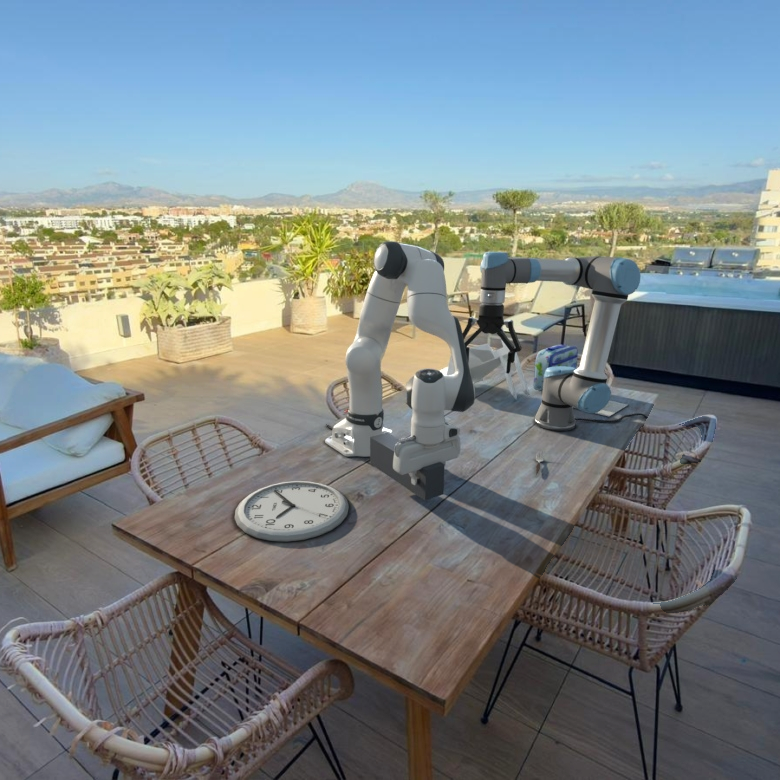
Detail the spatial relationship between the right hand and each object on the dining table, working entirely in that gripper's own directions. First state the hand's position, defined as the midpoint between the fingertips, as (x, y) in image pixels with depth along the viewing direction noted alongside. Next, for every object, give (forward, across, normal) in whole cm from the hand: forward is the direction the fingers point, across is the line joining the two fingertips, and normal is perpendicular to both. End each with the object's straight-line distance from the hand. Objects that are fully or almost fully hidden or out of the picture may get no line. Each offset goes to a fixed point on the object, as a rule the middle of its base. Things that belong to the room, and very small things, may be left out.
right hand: (486, 370), depth 168 cm
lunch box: (+30, +16, +89) cm, 95 cm away
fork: (+30, +19, -1) cm, 35 cm away
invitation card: (+30, +37, +71) cm, 85 cm away
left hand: (+21, -6, -41) cm, 46 cm away
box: (+25, -14, -35) cm, 46 cm away
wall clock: (+30, -39, -56) cm, 74 cm away
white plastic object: (+30, -16, +69) cm, 77 cm away
